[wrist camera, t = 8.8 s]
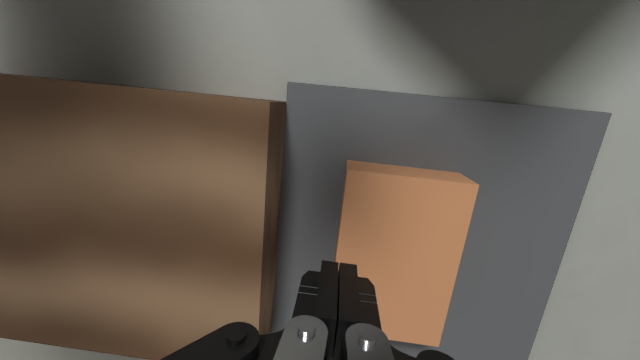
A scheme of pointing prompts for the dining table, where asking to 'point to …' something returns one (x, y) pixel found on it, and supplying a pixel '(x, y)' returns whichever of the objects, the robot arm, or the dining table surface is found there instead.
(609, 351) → the dining table surface
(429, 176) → the orange tan block
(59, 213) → the brown box
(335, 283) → the robot arm
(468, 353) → the mat
